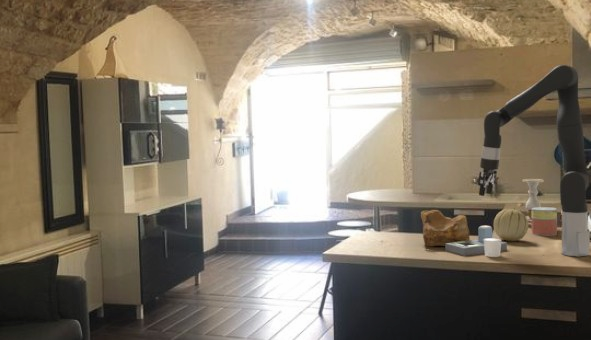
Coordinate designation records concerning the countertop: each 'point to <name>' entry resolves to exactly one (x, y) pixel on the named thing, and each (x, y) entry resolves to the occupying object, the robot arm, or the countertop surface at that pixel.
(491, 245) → the shot glass
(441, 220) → the rough brown rock
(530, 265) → the countertop surface
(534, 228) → the canned food
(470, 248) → the socket panel
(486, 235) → the light blue cylinder
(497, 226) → the cantaloupe
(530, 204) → the candle holder
